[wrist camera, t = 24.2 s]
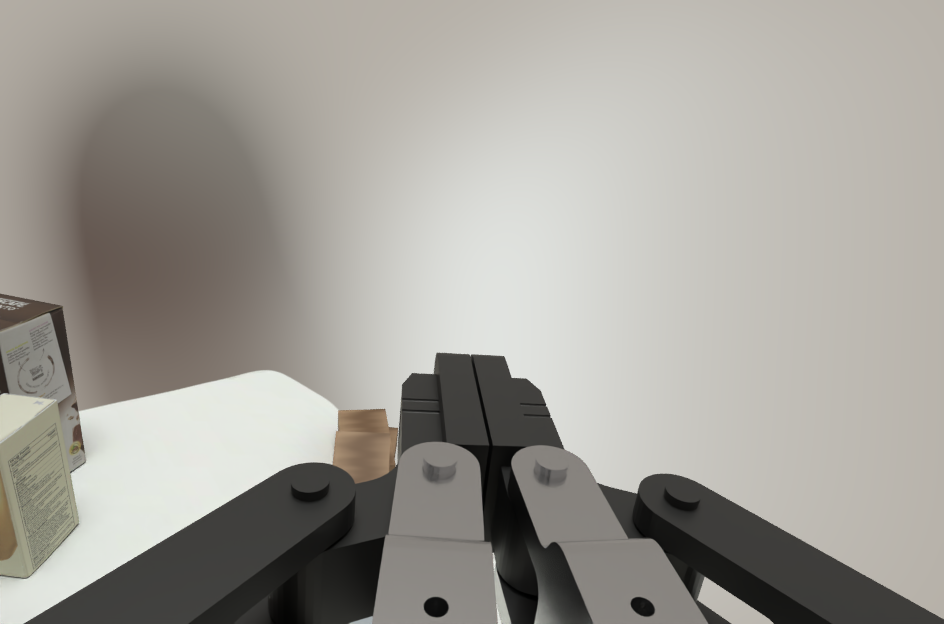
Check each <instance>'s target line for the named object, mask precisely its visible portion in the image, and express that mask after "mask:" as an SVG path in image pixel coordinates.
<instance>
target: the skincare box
mask: <svg viewBox="0 0 944 624" xmlns="http://www.w3.org/2000/svg"><path fill="white" fill-rule="evenodd" d="M78 523H79V518H78V513H77V507H76V502H75V496H74V491H73V486H72V480H71V475H70V469H69V464H68V459H67V453H66V447H65V442H64V436H63V431H62V426H61V420H60V415H59V409H58V404H57V400H56V399H47V398H40V397H33V396H24V395H16V394H7V393H4V394H2V395H0V575H5V576H14V577H21V578H27V577H29V576H30V575H31V574H32V573H33V572H34V571H35V570H36V569H37V568H38V567H39V566H40V565H41V564H42V563H43V562H44V561H45V560H46V559H47V558H48V556H49V555H50V554H51V553H52V552H53V551H54V550H55V549H56V548H57V547H58V546H59V544H60V543H61V542H62V541H63V540H64V539H65V538H66V537H67V536H68V534H69V533H70V532H71V531H72V530H73V529H74V528H75V526H76V525H77V524H78Z"/></svg>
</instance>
